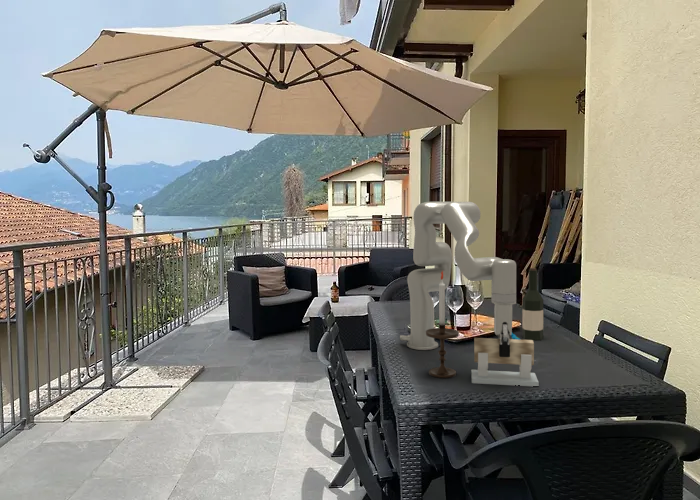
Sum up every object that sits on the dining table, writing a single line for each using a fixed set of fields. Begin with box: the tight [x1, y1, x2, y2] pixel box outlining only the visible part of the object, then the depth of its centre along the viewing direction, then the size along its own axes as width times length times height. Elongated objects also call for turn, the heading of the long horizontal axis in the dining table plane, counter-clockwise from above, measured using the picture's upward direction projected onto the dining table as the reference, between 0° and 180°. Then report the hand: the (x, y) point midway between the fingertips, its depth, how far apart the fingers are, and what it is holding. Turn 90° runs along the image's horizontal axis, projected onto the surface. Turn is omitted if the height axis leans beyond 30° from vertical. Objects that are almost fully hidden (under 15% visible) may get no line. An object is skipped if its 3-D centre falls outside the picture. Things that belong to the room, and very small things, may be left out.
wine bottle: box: [521, 267, 544, 342], centre depth 209 cm, size 8×8×30 cm
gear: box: [509, 332, 521, 340], centre depth 193 cm, size 11×6×10 cm
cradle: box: [470, 353, 540, 387], centre depth 158 cm, size 20×9×10 cm, turn 77°
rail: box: [473, 337, 535, 366], centre depth 158 cm, size 18×4×7 cm, turn 76°
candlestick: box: [426, 271, 460, 379], centre depth 165 cm, size 11×11×35 cm
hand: (503, 353), depth 158 cm, fingers open, 6 cm apart
